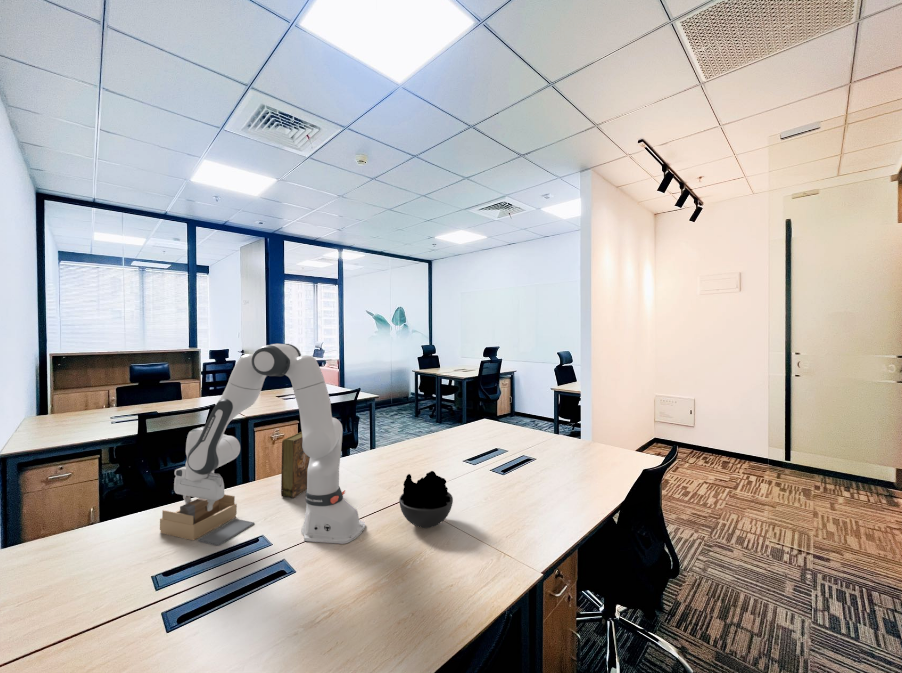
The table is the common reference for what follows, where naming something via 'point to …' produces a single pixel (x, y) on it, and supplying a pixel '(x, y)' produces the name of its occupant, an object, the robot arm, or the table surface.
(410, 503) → the coal bowl
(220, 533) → the mat
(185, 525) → the carton
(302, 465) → the book
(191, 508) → the capped box
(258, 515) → the table surface
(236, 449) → the robot arm
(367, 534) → the table surface
